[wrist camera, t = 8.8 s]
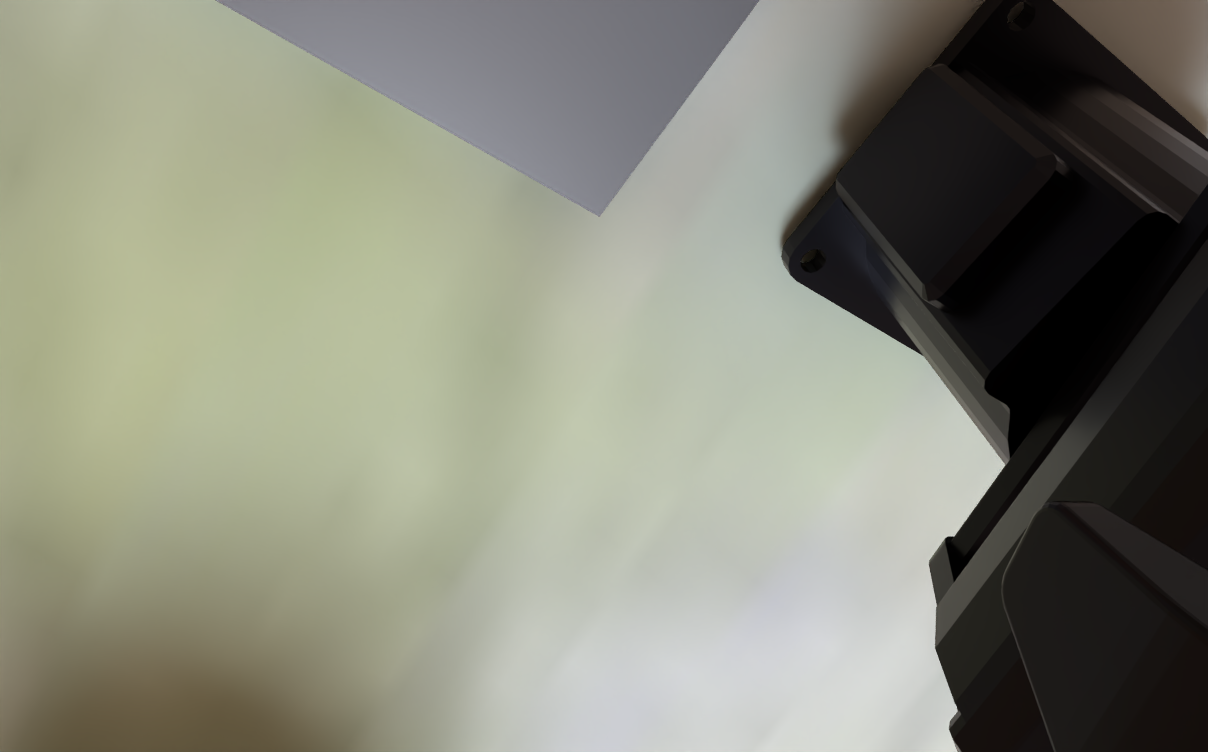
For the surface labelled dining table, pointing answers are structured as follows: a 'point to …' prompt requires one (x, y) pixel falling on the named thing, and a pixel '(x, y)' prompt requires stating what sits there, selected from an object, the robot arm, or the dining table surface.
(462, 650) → the dining table surface
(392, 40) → the slate plate
